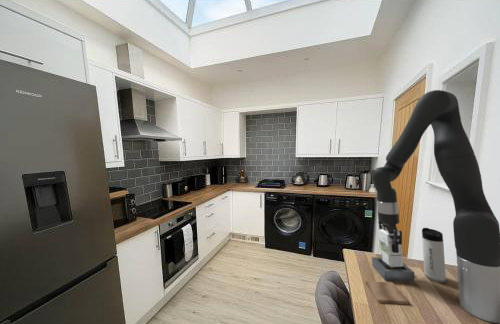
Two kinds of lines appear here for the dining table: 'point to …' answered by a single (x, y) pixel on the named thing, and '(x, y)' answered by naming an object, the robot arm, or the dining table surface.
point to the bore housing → (393, 271)
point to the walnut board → (387, 292)
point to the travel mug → (433, 255)
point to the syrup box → (389, 250)
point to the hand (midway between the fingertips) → (390, 248)
